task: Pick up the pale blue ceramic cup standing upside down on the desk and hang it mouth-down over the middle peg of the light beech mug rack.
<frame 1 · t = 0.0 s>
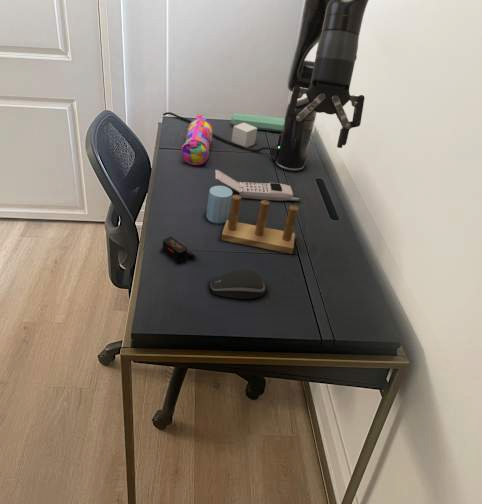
hand: (317, 144, 99), 31 cm above the table, tool tilted 20°, fingers open, 8 cm apart
computer mouse: (237, 289, 109), on the table
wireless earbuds: (178, 256, 117), on the table
white cube: (242, 143, 174), on the table
teal long bar: (263, 130, 187), on the table
mobile phone: (255, 195, 145), on the table
rack: (257, 239, 126), on the table
pencil case: (196, 153, 164), on the table
cup: (217, 217, 133), on the table
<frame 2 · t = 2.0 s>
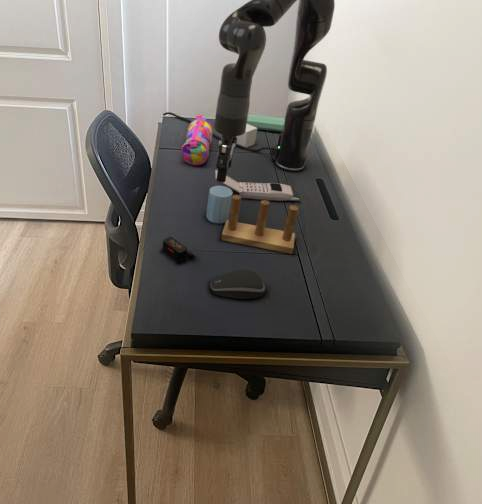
hand: (223, 173, 125), 13 cm above the table, tool pointing down, fingers open, 8 cm apart
nothing on the table moved.
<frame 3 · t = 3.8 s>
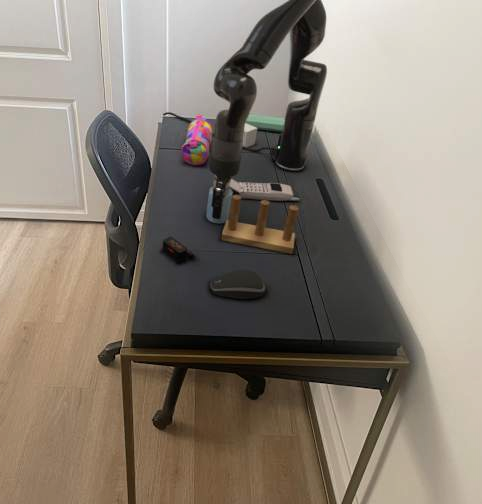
hand: (218, 211, 132), 2 cm above the table, tool pointing down, fingers closed on cup, 6 cm apart
cup: (217, 217, 133), on the table, touching gripper
everything else where it was.
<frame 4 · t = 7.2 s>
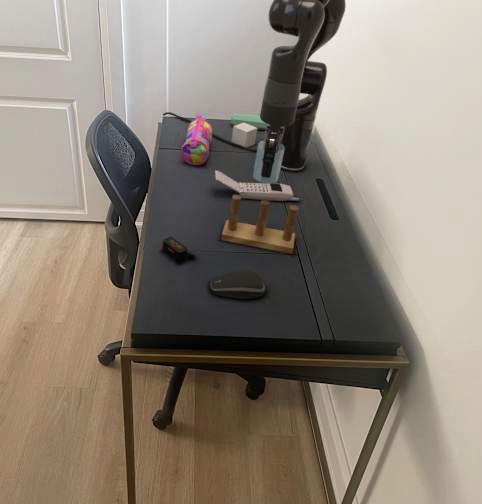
hand: (267, 170, 115), 19 cm above the table, tool pointing down, fingers closed on cup, 6 cm apart
cup: (265, 177, 116), point 17 cm above the table, touching gripper
everything else where it was.
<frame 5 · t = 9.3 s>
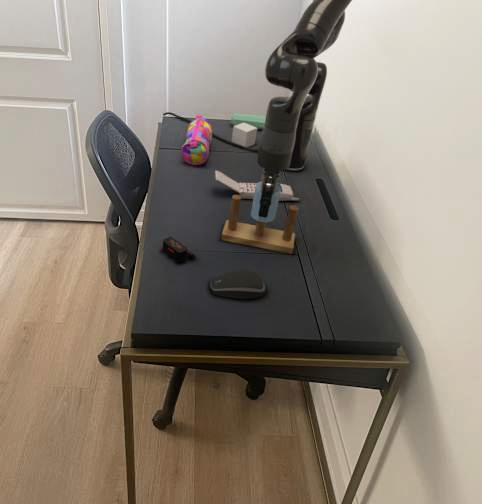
hand: (264, 209, 121), 9 cm above the table, tool pointing down, fingers closed on cup, 6 cm apart
cup: (262, 215, 122), point 7 cm above the table, touching gripper
everything else where it was.
when the fingers open (5 cm above the table, at t = 10.9 s): cup stays where it is, resting on rack.
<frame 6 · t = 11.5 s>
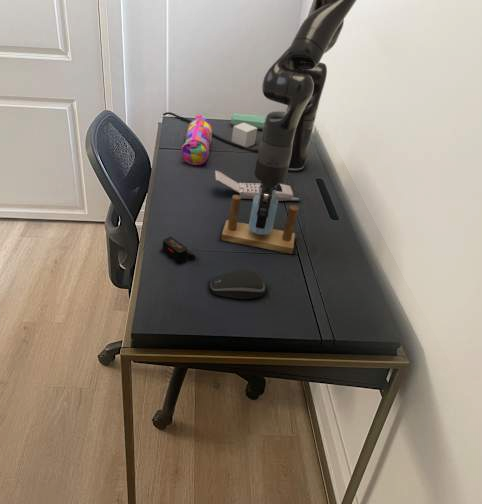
hand: (261, 218, 122), 6 cm above the table, tool pointing down, fingers open, 8 cm apart
cup: (260, 227, 124), point 4 cm above the table, touching rack
everything else where it was.
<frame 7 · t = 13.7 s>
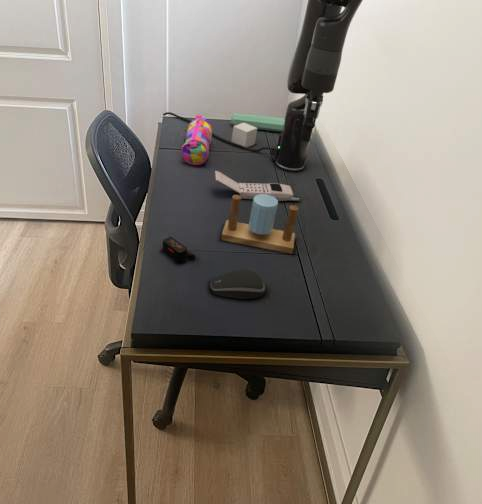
hand: (305, 133, 123), 24 cm above the table, tool pointing down, fingers open, 8 cm apart
nothing on the table moved.
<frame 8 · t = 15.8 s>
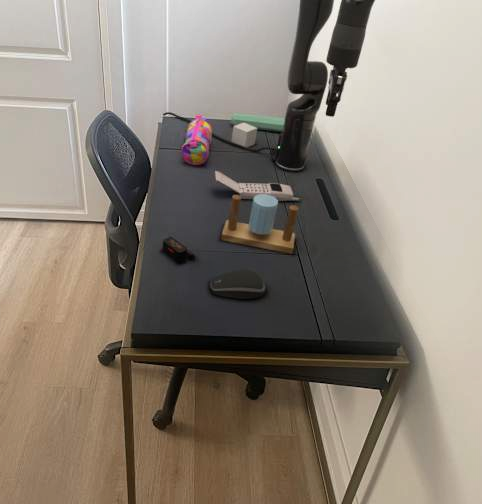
hand: (329, 110, 127), 28 cm above the table, tool pointing down, fingers open, 8 cm apart
nothing on the table moved.
at the end: cup 0.0 cm off-centre on the rack, point 3.6 cm above the rack's base; the gripper is holding nothing; cup tilted 0° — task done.
